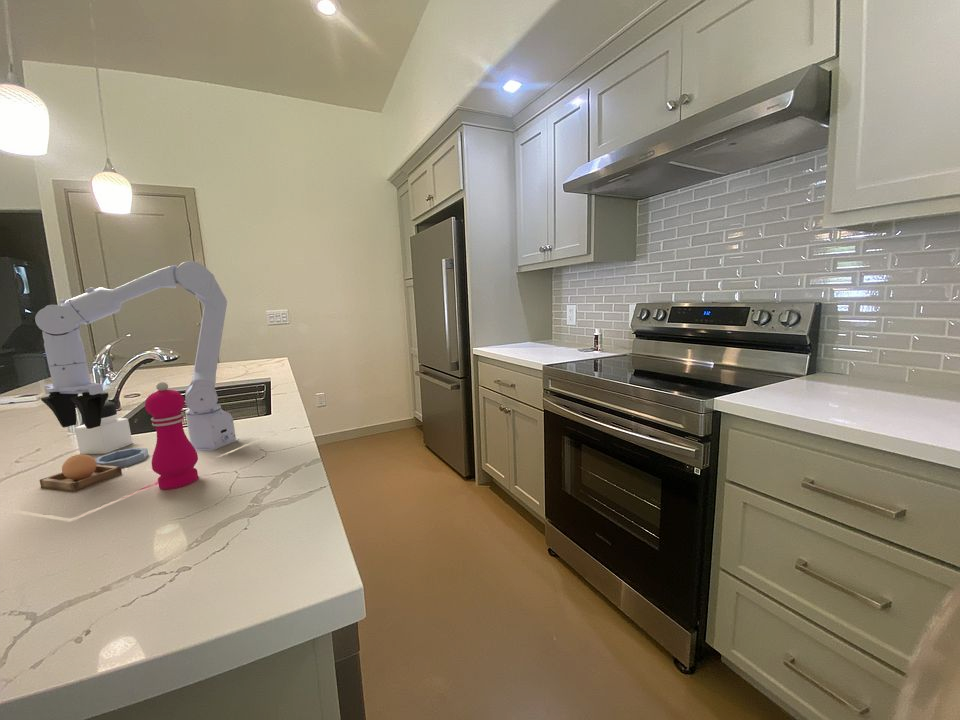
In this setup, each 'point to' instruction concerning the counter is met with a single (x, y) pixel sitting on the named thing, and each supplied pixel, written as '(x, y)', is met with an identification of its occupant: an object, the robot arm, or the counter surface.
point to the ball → (79, 467)
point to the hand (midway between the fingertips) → (81, 426)
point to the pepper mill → (171, 439)
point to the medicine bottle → (104, 433)
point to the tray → (68, 484)
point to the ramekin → (123, 457)
